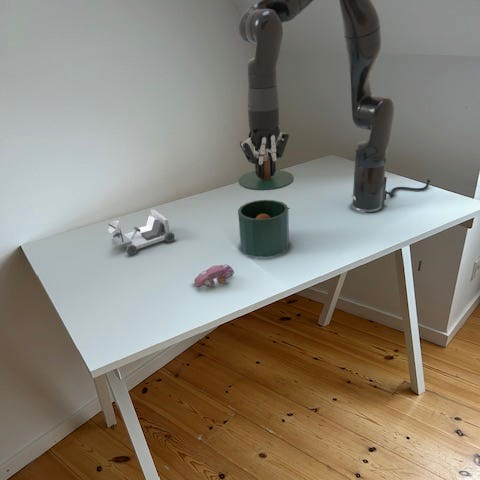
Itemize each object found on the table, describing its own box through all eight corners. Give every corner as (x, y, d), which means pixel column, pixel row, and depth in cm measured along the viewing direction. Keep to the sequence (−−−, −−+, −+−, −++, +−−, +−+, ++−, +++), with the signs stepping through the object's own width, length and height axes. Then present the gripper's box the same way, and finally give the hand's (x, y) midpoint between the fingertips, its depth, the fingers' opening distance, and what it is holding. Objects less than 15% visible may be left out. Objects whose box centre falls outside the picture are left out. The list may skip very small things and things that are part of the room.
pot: (272, 232, 147) (270, 196, 140) (297, 249, 137) (297, 211, 130) (232, 244, 142) (229, 207, 136) (256, 263, 132) (254, 224, 126)
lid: (274, 169, 136) (274, 147, 133) (304, 183, 126) (305, 160, 122) (228, 181, 131) (227, 158, 128) (256, 197, 120) (255, 173, 117)
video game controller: (199, 296, 124) (201, 280, 118) (192, 282, 125) (194, 266, 119) (234, 285, 127) (237, 269, 121) (226, 271, 129) (229, 255, 123)
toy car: (112, 228, 134) (97, 215, 142) (119, 259, 140) (105, 245, 148) (170, 210, 142) (153, 198, 150) (175, 240, 147) (158, 228, 155)
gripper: (245, 114, 112) (250, 186, 122) (296, 103, 117) (296, 174, 127) (230, 108, 118) (235, 178, 128) (279, 99, 123) (280, 167, 133)
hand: (265, 176), depth 127 cm, fingers closed on lid, 2 cm apart
